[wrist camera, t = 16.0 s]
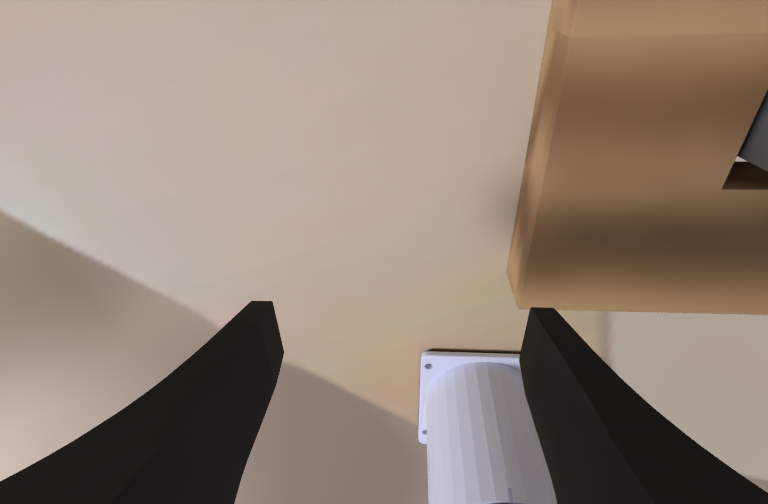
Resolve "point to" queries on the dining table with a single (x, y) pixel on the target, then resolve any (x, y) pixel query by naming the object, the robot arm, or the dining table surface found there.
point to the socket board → (645, 161)
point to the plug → (757, 138)
